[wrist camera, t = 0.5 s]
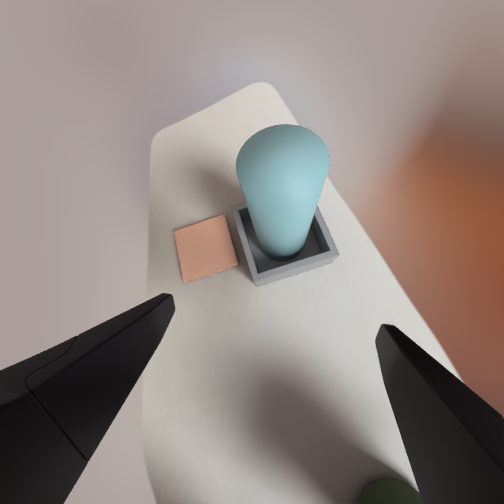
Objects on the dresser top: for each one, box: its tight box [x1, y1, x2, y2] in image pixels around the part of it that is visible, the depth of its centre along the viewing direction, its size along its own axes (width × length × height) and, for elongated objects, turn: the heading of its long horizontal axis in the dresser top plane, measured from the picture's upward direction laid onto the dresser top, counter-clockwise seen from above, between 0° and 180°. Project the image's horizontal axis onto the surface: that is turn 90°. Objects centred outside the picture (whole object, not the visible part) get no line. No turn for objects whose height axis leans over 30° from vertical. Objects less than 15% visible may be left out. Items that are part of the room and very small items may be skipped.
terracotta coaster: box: [174, 214, 239, 283], centre depth 24 cm, size 6×6×1 cm
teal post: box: [236, 124, 330, 261], centre depth 17 cm, size 5×5×12 cm
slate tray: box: [231, 202, 340, 287], centre depth 22 cm, size 8×8×3 cm
